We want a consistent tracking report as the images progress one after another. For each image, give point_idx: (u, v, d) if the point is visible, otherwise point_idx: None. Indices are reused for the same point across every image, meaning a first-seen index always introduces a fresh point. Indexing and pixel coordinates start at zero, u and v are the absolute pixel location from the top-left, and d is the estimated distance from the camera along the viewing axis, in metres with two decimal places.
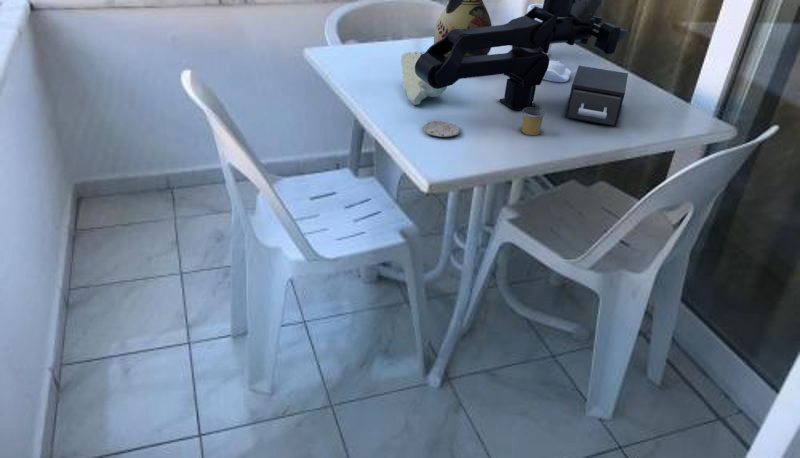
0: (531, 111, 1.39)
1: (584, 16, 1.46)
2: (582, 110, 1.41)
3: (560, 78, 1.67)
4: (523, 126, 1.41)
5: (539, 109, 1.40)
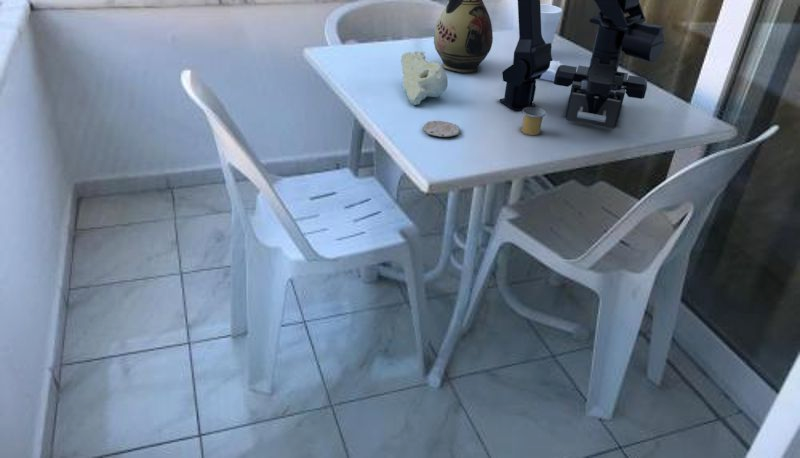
0: (531, 111, 1.39)
1: (591, 67, 1.32)
2: (581, 113, 1.39)
3: None
4: (523, 126, 1.41)
5: (539, 109, 1.40)
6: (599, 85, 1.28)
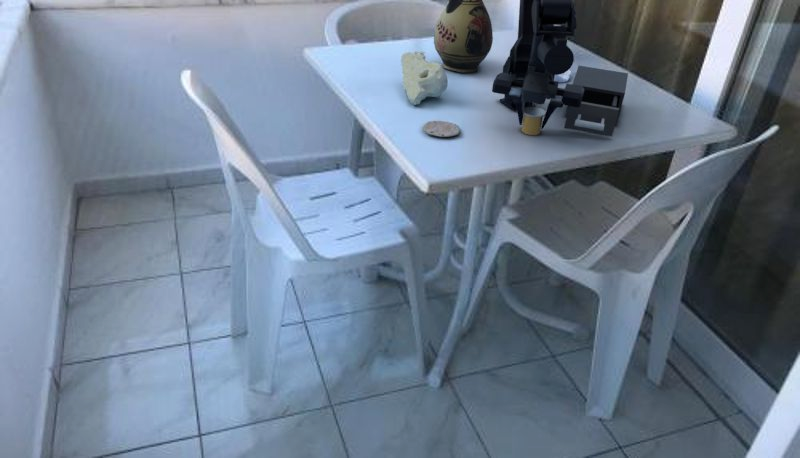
0: (531, 111, 1.39)
1: (527, 76, 1.32)
2: (579, 121, 1.35)
3: (560, 78, 1.67)
4: (523, 126, 1.41)
5: (539, 109, 1.40)
6: (533, 94, 1.29)
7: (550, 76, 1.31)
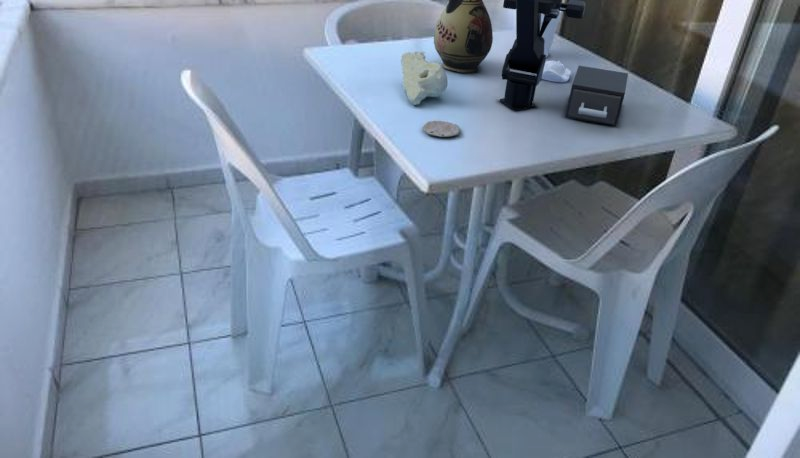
0: None
1: None
2: (582, 109, 1.41)
3: (560, 78, 1.67)
4: None
5: None
6: (540, 4, 1.45)
7: None
